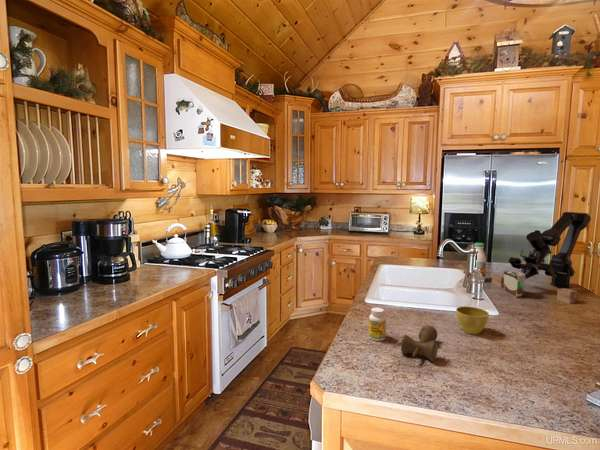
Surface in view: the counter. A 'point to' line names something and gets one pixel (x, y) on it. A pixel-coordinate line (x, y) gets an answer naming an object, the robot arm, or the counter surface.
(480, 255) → the milk bottle
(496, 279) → the walnut cube one
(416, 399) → the counter surface
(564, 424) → the counter surface
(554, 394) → the counter surface
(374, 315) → the supplement bottle
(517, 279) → the food container
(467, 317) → the olive yellow bowl
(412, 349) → the kendama
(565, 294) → the walnut cube seven
